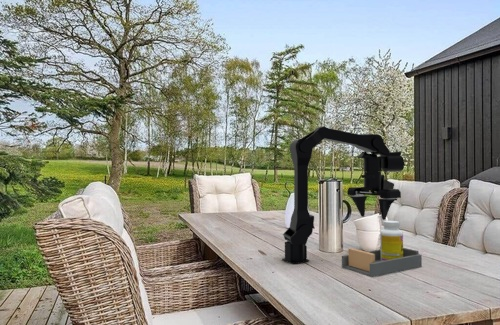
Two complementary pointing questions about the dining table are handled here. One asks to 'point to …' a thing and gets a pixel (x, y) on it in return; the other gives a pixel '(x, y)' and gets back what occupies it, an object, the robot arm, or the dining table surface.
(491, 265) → the dining table surface
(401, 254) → the supplement bottle
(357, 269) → the dark grey tray
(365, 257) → the block
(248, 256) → the dining table surface
